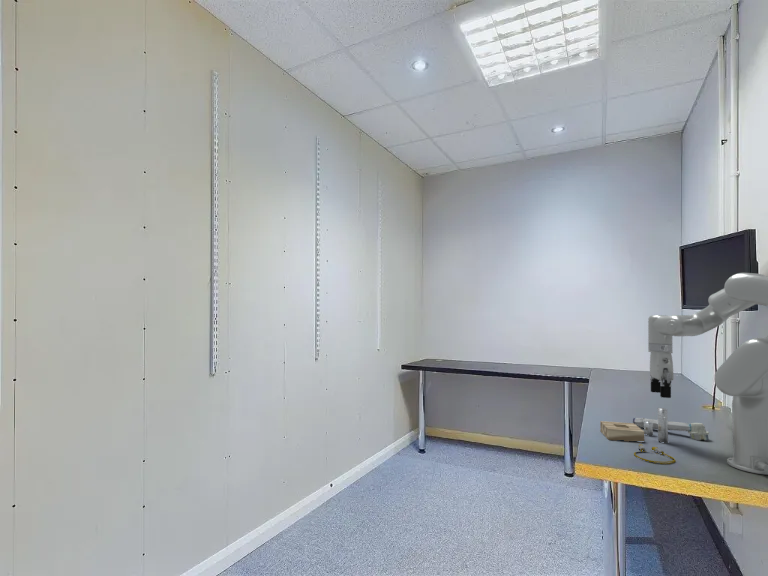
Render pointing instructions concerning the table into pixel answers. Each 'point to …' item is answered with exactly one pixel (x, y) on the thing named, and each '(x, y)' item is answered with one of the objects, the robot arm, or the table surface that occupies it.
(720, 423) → the table surface
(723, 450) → the table surface
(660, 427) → the long pin
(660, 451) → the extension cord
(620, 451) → the table surface
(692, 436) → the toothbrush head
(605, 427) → the bored block
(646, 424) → the short pin
